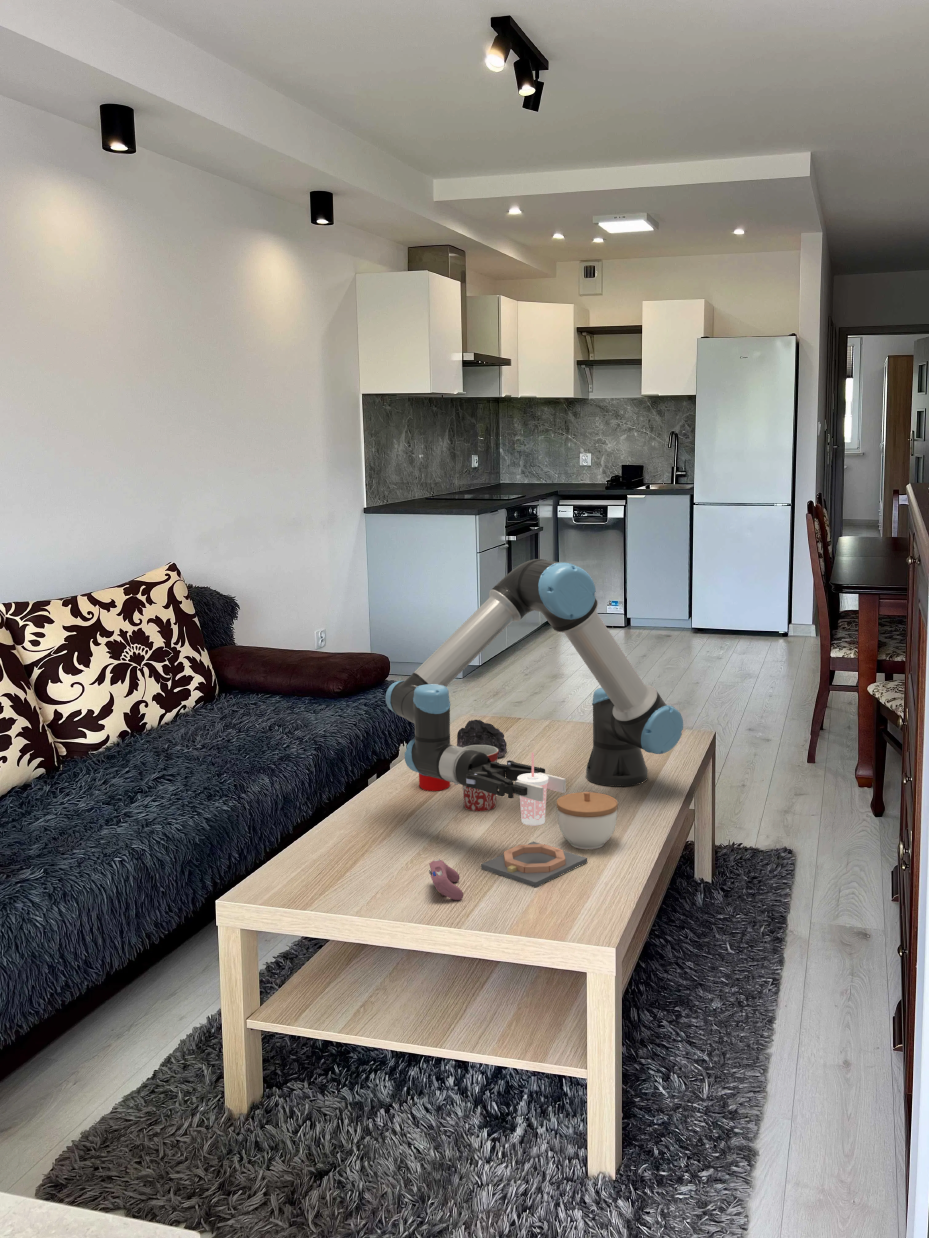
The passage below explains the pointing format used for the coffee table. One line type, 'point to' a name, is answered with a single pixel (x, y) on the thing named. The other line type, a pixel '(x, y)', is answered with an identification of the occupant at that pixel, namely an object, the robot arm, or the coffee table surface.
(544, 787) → the beverage cup
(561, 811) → the lidded bowl
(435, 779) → the soda can
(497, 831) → the coffee table surface
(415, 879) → the coffee table surface
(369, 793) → the coffee table surface
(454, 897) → the video game controller
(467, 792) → the mug
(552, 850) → the ring board
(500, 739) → the black rock
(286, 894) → the coffee table surface
